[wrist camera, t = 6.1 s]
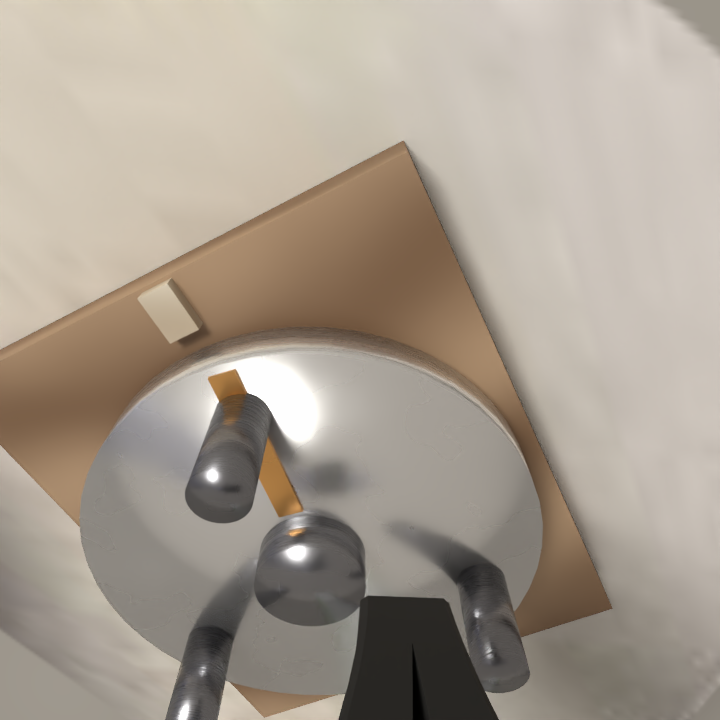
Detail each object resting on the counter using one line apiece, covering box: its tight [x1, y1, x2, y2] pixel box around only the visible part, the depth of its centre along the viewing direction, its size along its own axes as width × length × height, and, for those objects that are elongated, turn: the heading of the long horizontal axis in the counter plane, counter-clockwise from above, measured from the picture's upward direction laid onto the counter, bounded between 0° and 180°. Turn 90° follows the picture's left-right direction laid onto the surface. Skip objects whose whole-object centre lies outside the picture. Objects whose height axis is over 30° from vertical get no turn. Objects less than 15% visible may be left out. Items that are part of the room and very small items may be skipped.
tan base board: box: [0, 141, 612, 718], centre depth 20 cm, size 17×14×2 cm
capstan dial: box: [79, 327, 543, 720], centre depth 17 cm, size 13×13×4 cm
